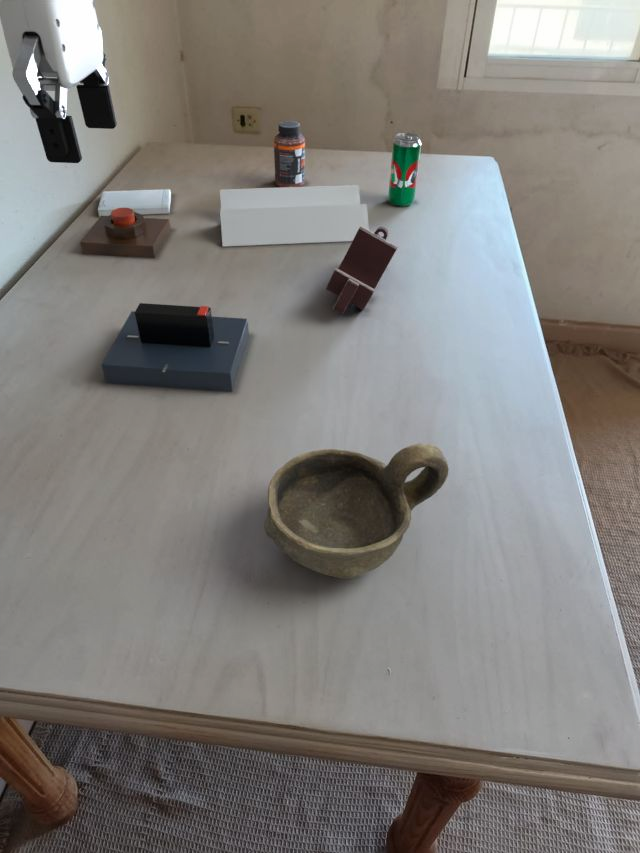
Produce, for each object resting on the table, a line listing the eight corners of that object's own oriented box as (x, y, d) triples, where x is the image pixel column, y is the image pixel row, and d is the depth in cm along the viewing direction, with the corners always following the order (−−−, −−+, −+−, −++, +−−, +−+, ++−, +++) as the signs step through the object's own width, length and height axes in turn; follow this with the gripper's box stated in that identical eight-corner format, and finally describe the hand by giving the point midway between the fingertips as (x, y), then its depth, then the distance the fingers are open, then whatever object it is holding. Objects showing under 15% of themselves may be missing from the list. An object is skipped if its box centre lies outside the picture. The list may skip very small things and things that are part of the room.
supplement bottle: (307, 188, 123) (308, 128, 116) (278, 191, 122) (276, 130, 115) (301, 177, 128) (301, 117, 120) (272, 179, 127) (270, 119, 119)
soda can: (414, 197, 121) (422, 132, 113) (413, 209, 117) (421, 142, 109) (388, 196, 122) (394, 130, 113) (386, 206, 118) (392, 140, 110)
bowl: (254, 496, 65) (248, 426, 59) (412, 468, 69) (423, 399, 62) (280, 611, 56) (276, 544, 49) (462, 572, 59) (483, 504, 52)
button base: (83, 254, 103) (77, 231, 100) (103, 227, 110) (98, 205, 107) (154, 258, 102) (150, 235, 99) (171, 231, 109) (167, 208, 107)
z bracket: (363, 251, 114) (369, 240, 107) (224, 257, 111) (222, 246, 105) (358, 185, 114) (364, 170, 108) (219, 190, 112) (217, 175, 105)
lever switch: (104, 386, 78) (98, 366, 76) (136, 327, 88) (132, 307, 86) (231, 395, 77) (229, 375, 75) (249, 334, 87) (248, 315, 85)
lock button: (110, 226, 102) (107, 216, 101) (117, 217, 105) (115, 206, 104) (131, 227, 102) (129, 217, 101) (138, 218, 105) (136, 208, 104)
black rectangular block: (140, 342, 80) (134, 310, 77) (146, 332, 81) (139, 301, 78) (210, 347, 79) (206, 315, 76) (214, 337, 81) (210, 305, 78)
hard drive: (97, 209, 112) (168, 205, 113) (102, 190, 118) (169, 187, 119) (99, 218, 113) (169, 214, 114) (104, 199, 119) (171, 196, 120)
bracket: (316, 304, 88) (349, 240, 82) (341, 269, 102) (370, 213, 96) (355, 325, 88) (389, 263, 82) (374, 287, 102) (404, 233, 97)
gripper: (32, -85, 57) (80, 115, 69) (-72, -66, 45) (8, 175, 56) (112, -85, 57) (147, 117, 68) (29, -65, 44) (89, 178, 56)
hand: (84, 143), depth 62 cm, fingers open, 9 cm apart
